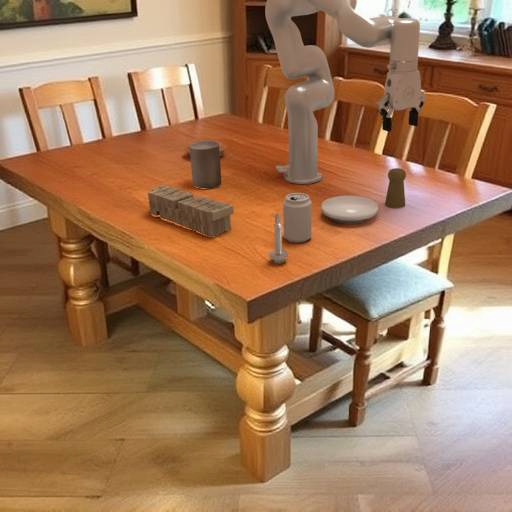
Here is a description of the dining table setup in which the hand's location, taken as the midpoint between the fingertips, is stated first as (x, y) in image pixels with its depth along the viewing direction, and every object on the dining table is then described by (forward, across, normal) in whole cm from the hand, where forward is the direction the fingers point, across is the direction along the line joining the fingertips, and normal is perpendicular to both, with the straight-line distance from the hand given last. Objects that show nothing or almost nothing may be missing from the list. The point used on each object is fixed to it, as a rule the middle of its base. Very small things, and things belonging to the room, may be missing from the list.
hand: (400, 128), depth 193 cm
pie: (+23, -24, +79) cm, 86 cm away
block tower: (+24, -57, +22) cm, 66 cm away
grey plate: (+23, -17, 0) cm, 29 cm away
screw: (+23, -50, -14) cm, 57 cm away
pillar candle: (+23, -38, +49) cm, 67 cm away
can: (+23, -38, -4) cm, 45 cm away
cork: (+23, 0, 0) cm, 23 cm away
